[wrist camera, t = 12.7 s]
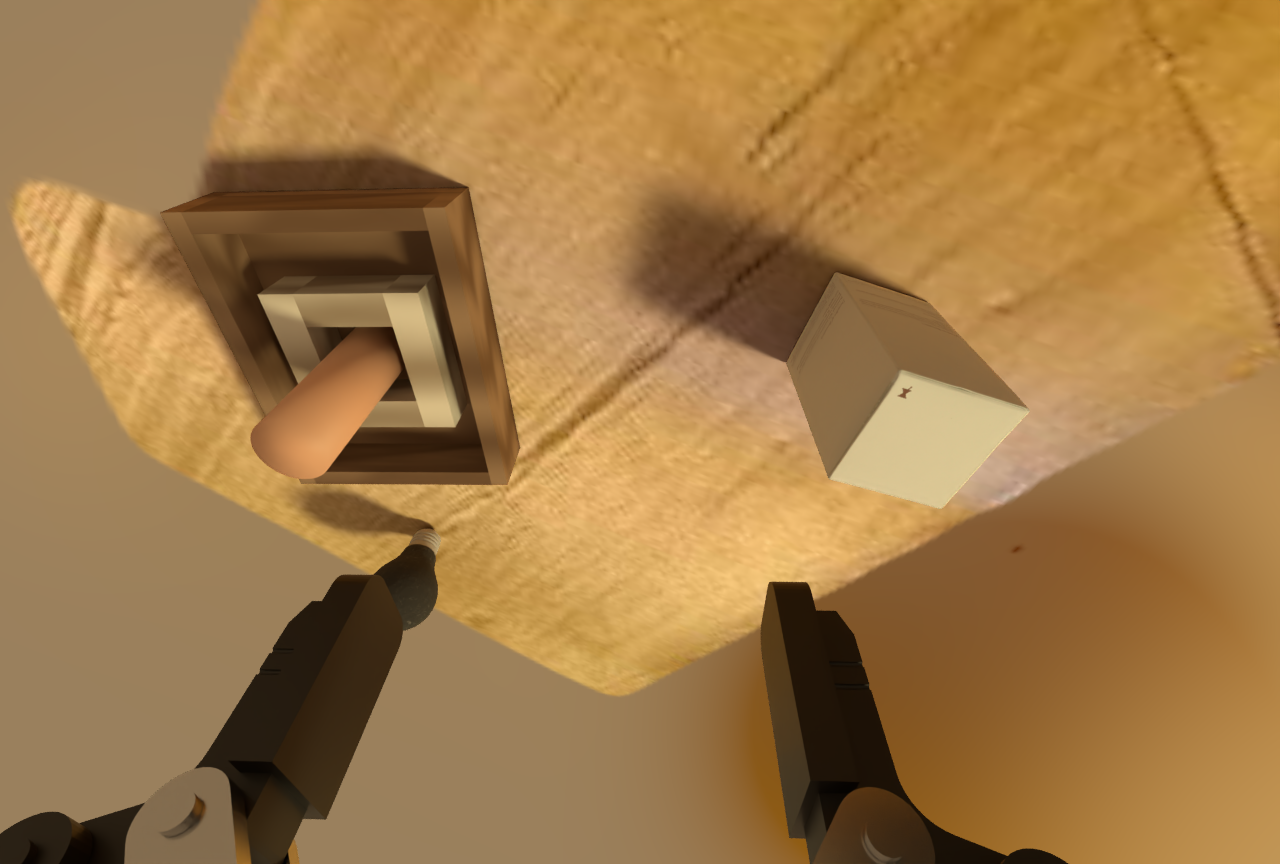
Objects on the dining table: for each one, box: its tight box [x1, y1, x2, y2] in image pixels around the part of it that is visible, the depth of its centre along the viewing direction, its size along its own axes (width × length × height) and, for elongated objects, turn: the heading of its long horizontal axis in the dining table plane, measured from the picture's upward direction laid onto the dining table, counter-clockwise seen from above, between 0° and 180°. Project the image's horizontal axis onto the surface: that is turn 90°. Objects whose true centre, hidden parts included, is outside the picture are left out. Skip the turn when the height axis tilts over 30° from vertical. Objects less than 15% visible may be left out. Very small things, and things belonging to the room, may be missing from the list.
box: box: [160, 187, 520, 485], centre depth 38 cm, size 20×16×4 cm
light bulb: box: [374, 528, 441, 630], centre depth 48 cm, size 6×6×10 cm
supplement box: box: [786, 272, 1029, 509], centre depth 33 cm, size 7×7×13 cm
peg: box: [251, 327, 405, 479], centre depth 34 cm, size 4×4×12 cm
